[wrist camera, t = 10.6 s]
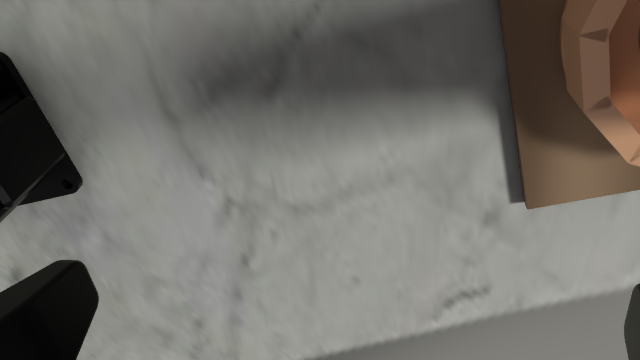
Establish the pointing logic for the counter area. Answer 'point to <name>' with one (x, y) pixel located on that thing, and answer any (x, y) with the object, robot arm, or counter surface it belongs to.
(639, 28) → the container
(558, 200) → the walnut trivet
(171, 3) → the counter surface
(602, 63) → the terracotta dish
